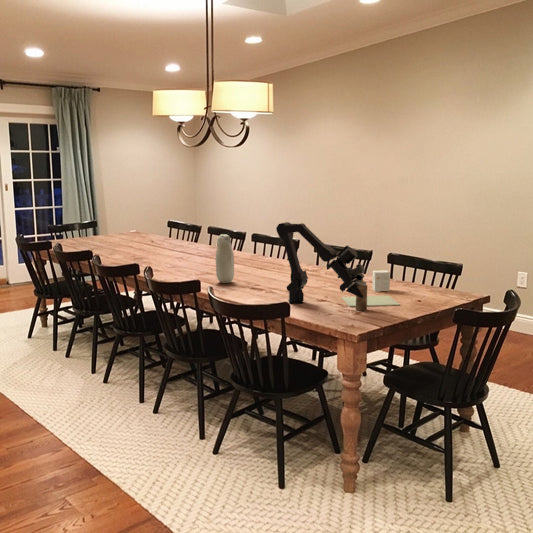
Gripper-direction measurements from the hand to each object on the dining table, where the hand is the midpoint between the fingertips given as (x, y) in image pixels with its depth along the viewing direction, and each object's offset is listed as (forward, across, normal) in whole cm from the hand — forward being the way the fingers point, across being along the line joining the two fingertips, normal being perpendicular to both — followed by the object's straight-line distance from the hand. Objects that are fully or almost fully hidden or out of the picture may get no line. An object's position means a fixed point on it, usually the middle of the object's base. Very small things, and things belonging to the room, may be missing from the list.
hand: (364, 296), depth 250 cm
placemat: (+3, +17, +7) cm, 18 cm away
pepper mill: (+4, 0, +6) cm, 7 cm away
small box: (+1, +43, +9) cm, 44 cm away
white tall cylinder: (-60, +24, +69) cm, 94 cm away
